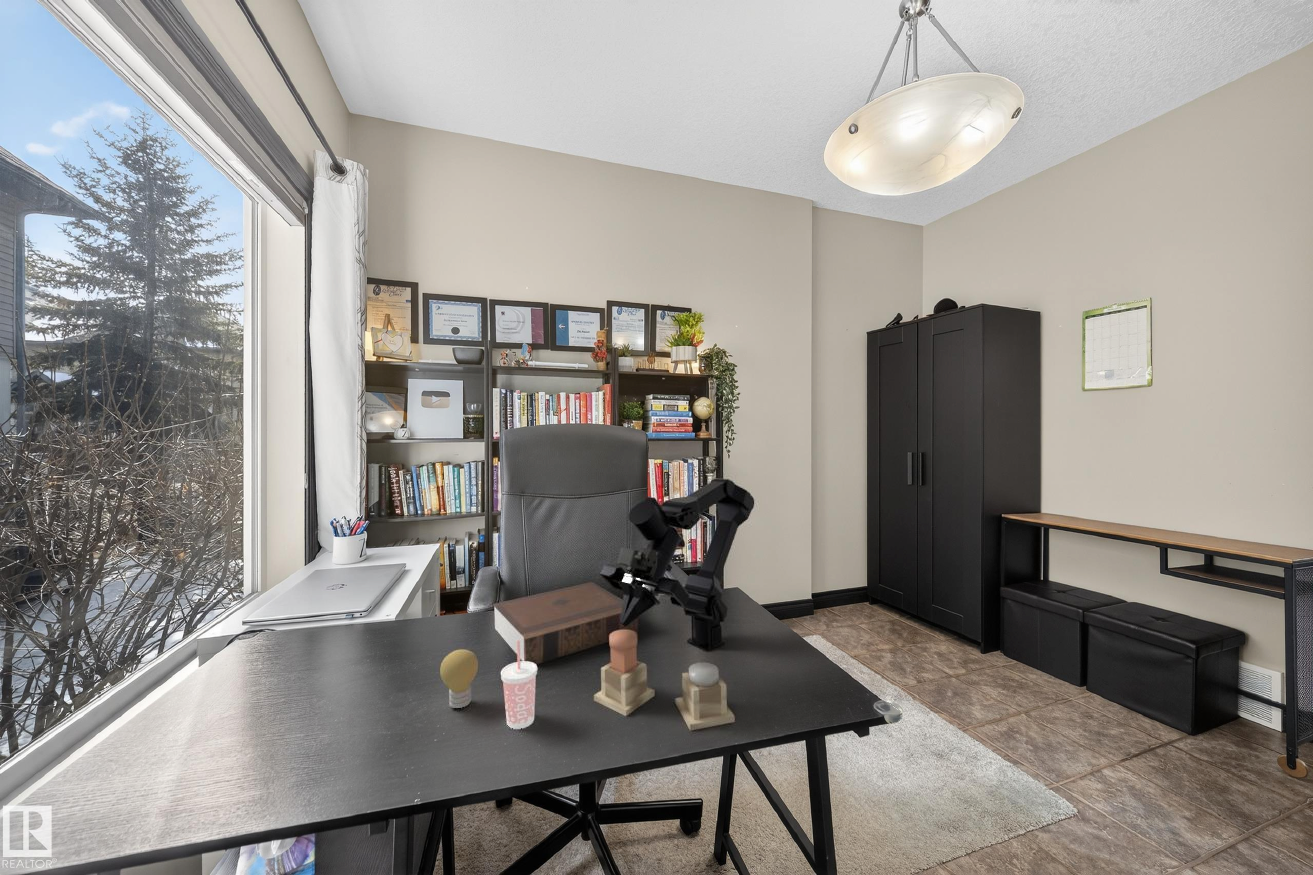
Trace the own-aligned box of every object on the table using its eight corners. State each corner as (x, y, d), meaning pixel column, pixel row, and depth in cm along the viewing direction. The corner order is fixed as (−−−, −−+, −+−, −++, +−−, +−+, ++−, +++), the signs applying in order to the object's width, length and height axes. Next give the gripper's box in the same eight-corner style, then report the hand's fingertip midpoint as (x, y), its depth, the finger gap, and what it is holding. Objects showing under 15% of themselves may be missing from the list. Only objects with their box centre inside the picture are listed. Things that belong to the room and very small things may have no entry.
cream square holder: (623, 681, 96) (622, 651, 95) (654, 695, 91) (654, 664, 90) (593, 700, 89) (593, 668, 89) (626, 716, 84) (625, 682, 84)
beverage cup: (499, 734, 80) (496, 651, 80) (504, 712, 86) (502, 635, 86) (537, 729, 81) (534, 647, 81) (540, 708, 87) (538, 632, 87)
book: (638, 634, 118) (637, 608, 118) (526, 669, 102) (525, 639, 102) (592, 604, 138) (591, 581, 138) (492, 629, 122) (492, 604, 122)
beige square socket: (675, 703, 88) (675, 671, 88) (716, 696, 90) (716, 664, 90) (690, 730, 80) (689, 695, 80) (734, 721, 82) (734, 687, 82)
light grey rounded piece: (685, 699, 87) (684, 664, 87) (712, 694, 88) (711, 660, 88) (695, 716, 82) (694, 679, 82) (723, 710, 83) (723, 674, 83)
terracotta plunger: (623, 659, 93) (622, 627, 93) (643, 667, 90) (642, 634, 90) (604, 670, 89) (603, 636, 89) (624, 679, 86) (624, 644, 86)
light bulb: (486, 698, 91) (484, 646, 90) (462, 718, 84) (460, 662, 84) (458, 692, 93) (457, 641, 92) (433, 711, 87) (431, 657, 86)
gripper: (605, 524, 99) (564, 593, 91) (679, 537, 87) (640, 616, 79) (631, 554, 105) (595, 621, 97) (703, 569, 94) (670, 646, 85)
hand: (622, 625), depth 89 cm, fingers closed
